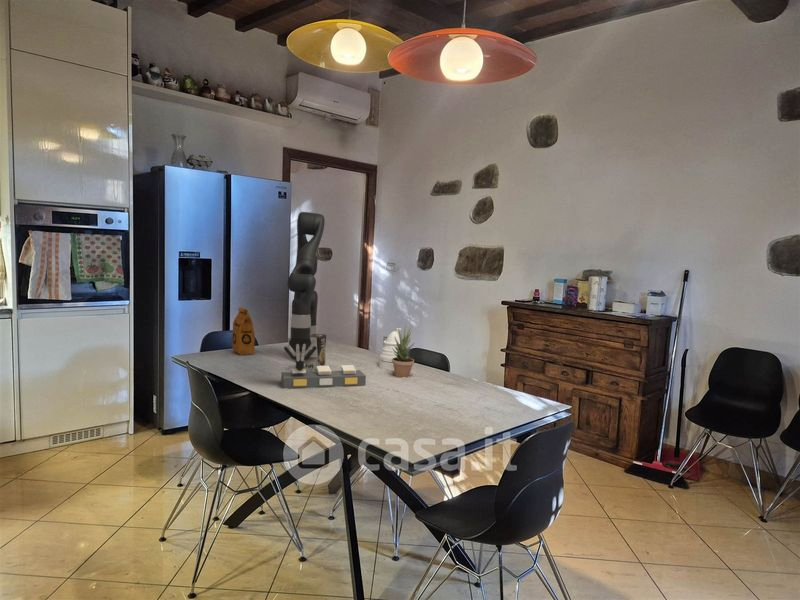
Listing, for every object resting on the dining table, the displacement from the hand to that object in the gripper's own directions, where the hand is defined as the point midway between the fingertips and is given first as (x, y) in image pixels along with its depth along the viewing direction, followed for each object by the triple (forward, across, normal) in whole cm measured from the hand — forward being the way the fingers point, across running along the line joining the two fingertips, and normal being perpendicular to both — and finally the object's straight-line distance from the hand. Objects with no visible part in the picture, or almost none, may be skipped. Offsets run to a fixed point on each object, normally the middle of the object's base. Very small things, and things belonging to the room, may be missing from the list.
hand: (299, 370), depth 217 cm
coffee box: (+6, -10, -23) cm, 26 cm away
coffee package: (+6, +18, -67) cm, 70 cm away
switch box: (+6, -10, -3) cm, 12 cm away
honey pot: (+6, -47, -29) cm, 56 cm away
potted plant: (+6, -46, -12) cm, 48 cm away
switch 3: (+1, -20, -3) cm, 20 cm away
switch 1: (+1, 0, -3) cm, 3 cm away
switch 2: (+1, -10, -3) cm, 10 cm away
